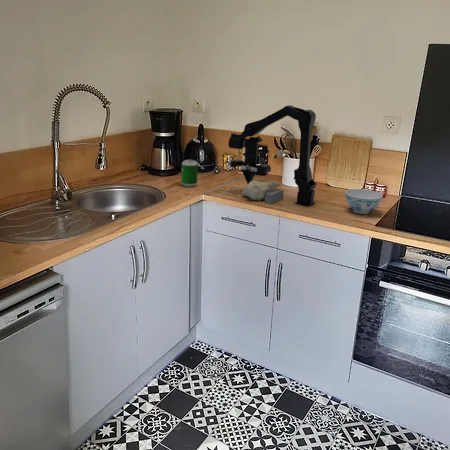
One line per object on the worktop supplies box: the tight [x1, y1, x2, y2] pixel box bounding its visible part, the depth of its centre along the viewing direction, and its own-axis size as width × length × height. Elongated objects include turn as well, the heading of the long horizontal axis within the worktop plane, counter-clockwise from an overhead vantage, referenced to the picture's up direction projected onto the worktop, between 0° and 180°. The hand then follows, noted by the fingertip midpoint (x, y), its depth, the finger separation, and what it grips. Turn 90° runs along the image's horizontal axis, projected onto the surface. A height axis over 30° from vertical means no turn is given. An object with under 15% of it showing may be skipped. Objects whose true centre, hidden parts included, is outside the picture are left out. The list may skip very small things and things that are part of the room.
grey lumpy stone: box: [241, 179, 282, 201], centre depth 204 cm, size 15×7×15 cm
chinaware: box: [344, 188, 383, 215], centre depth 193 cm, size 15×15×8 cm
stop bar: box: [264, 188, 284, 205], centre depth 203 cm, size 3×11×4 cm, turn 145°
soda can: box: [181, 159, 199, 188], centre depth 220 cm, size 8×8×12 cm
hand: (249, 184), depth 212 cm, fingers closed
